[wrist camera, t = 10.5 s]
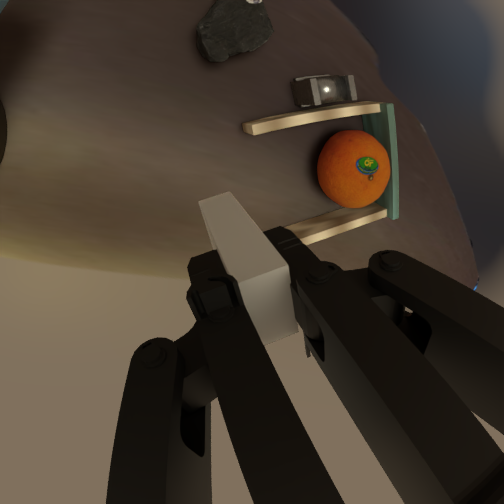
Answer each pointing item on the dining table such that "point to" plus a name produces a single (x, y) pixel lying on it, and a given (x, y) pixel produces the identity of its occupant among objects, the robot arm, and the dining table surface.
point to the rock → (233, 29)
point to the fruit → (353, 168)
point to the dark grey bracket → (323, 89)
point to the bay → (374, 122)
